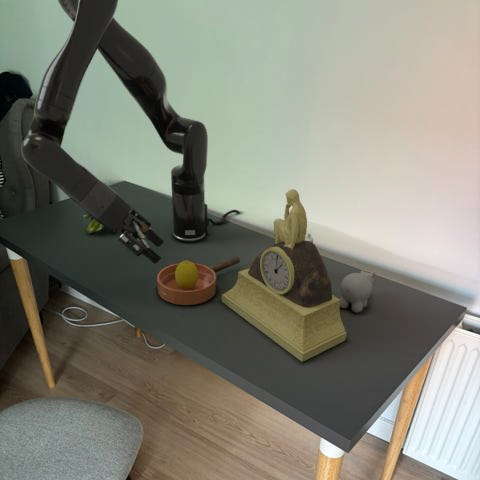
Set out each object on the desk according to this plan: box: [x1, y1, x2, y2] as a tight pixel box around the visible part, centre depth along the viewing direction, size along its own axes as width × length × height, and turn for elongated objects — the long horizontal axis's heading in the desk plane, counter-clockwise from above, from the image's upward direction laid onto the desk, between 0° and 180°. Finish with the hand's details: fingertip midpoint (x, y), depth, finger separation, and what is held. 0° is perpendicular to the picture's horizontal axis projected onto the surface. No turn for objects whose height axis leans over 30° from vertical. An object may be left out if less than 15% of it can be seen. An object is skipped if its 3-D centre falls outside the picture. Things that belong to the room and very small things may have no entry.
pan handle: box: [206, 256, 241, 274], centre depth 131 cm, size 11×2×2 cm, turn 133°
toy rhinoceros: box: [338, 267, 375, 314], centre depth 122 cm, size 7×12×8 cm, turn 141°
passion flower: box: [83, 212, 116, 235], centre depth 152 cm, size 11×11×12 cm
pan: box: [156, 262, 217, 306], centre depth 125 cm, size 14×14×4 cm
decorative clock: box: [221, 189, 348, 363], centre depth 108 cm, size 28×13×30 cm, turn 37°
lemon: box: [175, 259, 198, 290], centre depth 124 cm, size 6×6×8 cm
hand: (159, 252), depth 120 cm, fingers open, 8 cm apart
